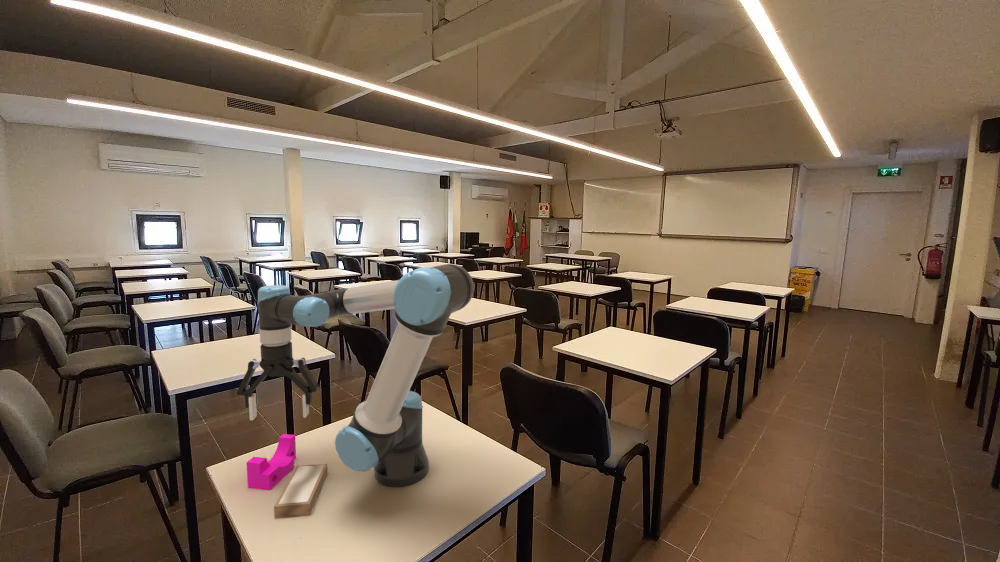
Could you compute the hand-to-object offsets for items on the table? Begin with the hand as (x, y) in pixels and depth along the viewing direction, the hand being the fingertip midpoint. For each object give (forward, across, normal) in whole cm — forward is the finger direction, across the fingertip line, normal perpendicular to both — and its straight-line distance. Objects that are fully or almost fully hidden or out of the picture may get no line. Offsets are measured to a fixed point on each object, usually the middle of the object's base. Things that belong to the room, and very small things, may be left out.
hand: (280, 416), depth 114 cm
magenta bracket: (+17, +1, 0) cm, 17 cm away
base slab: (+16, -9, +11) cm, 22 cm away
